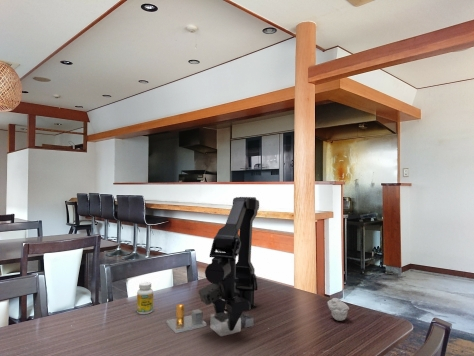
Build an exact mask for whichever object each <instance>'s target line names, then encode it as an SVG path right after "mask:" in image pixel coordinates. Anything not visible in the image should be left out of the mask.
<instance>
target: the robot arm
mask: <svg viewBox="0 0 474 356" xmlns="http://www.w3.org/2000/svg"><path fill="white" fill-rule="evenodd" d="M259 209H260V201H259V199H257V198H256V197H255V196H254V197H253V196H252V197H251V196H240V197H239V196H238V197H237V196H236V197H234V198H233V199H232V205H231V208H230V211H229V213H228V216H227V220H226V221H225V224H224V225H223V226H222V227H221V228H219V229H218V230H217V233H216V234H215V236H214V237H213V241H212V244H211V248H210V251H209V258H211V263H209V264H208V265H207V266H206V268H205V270H204V276H205V278H206V280H207V281H208V282H209V283H210V284H208V285H206V286H204V287H203V288H200V289H199V290H198V291H197V292H198V295H199V298H200V301H201V303H202V302H203V303H204V304H205V305H206V306H207V305H211V304H212V306H213V309H214V312H215V314H216V313H221V312H225V311H226V312H227V313H228V321H229V330H230V331H233V330H234V328H235V326H236V324H237V322H238V320H239V318H240V316H241V315H242V314H244V313H243V312H247V311H248V312H249V311H251V309H252V308H256V307H257V304H255V291H258V290H259V285H258V284H259V282H258V278H257V275H256V274H255V272H256V271H255V270H256V269H255V267H254V265H253V263H252V262H251V261H252V260H251V259H252V242H253V239H252V238H253V221H254V220H255V219H256V217H257V216H258V210H259ZM236 258H237V260H236Z"/></svg>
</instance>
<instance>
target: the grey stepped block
mask: <svg viewBox="0 0 474 356" xmlns="http://www.w3.org/2000/svg"><path fill="white" fill-rule="evenodd" d="M240 318H241V328H243V327H244V328H249V327H254V321H255V320H254V319H255V317H253V316H251V315H250V314H248V313H242V314H241V316H240Z"/></svg>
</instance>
